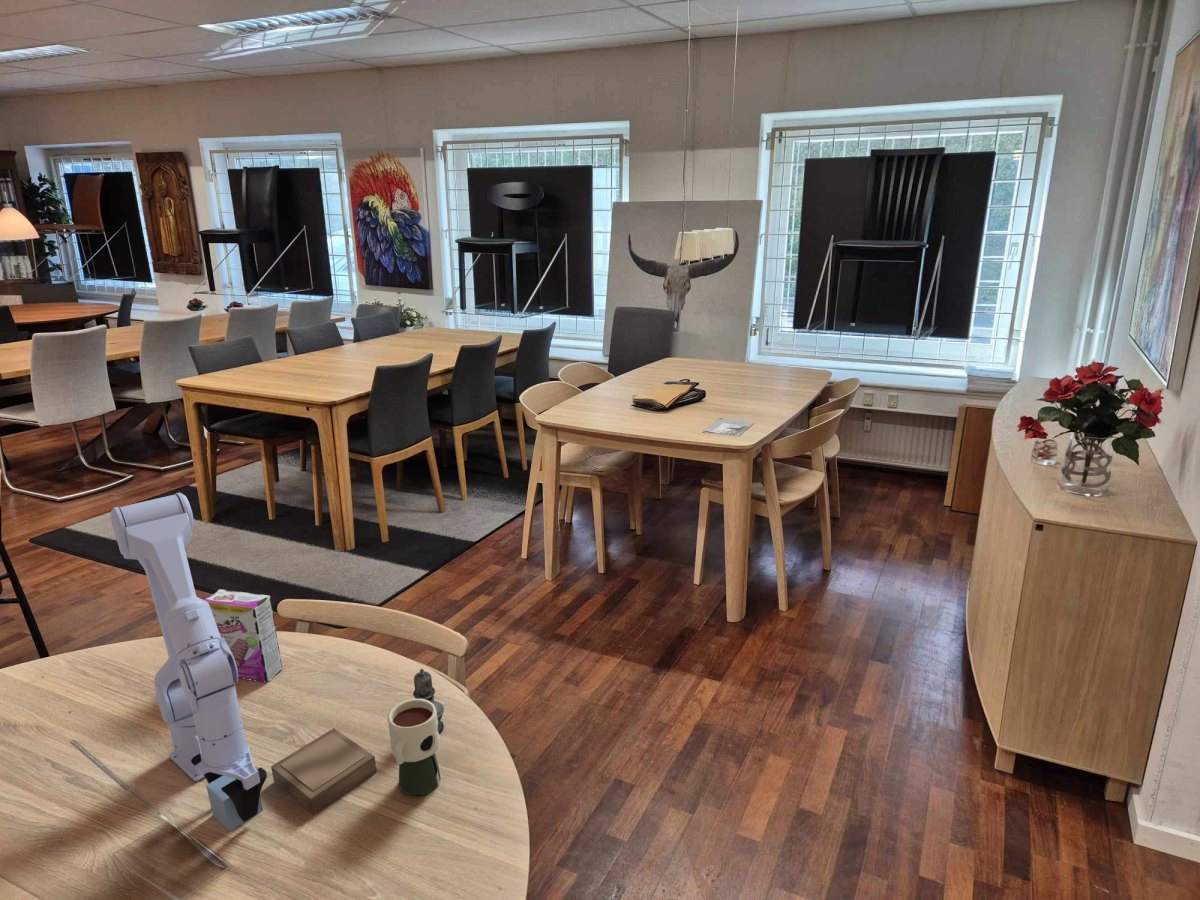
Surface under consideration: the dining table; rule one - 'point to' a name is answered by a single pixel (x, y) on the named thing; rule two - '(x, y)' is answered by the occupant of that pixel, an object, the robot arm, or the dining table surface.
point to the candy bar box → (248, 632)
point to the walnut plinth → (323, 770)
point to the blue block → (225, 804)
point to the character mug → (415, 744)
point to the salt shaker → (427, 694)
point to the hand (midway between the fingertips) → (236, 804)
